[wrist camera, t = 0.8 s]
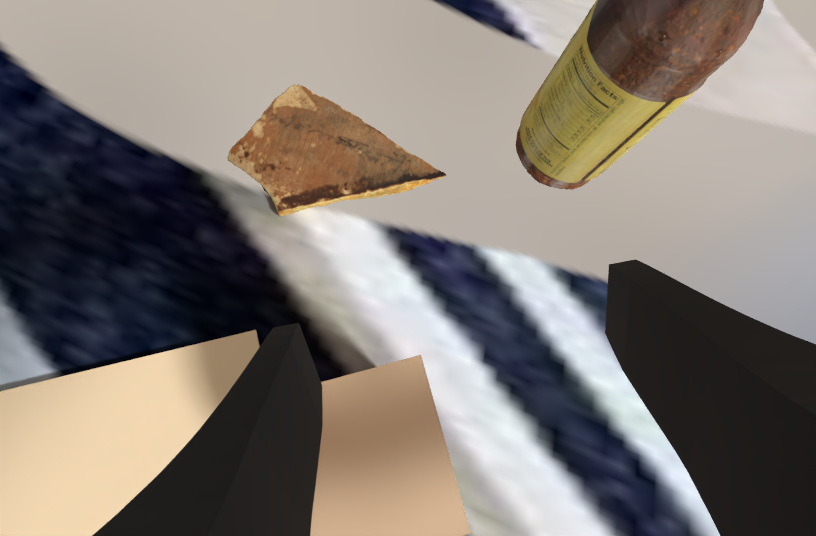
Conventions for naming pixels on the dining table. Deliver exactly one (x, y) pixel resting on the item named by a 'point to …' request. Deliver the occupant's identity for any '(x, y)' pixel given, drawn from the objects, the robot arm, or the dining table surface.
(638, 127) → the sauce bottle
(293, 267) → the dining table surface
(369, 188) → the shard
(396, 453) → the small brown box
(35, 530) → the cork mat
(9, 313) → the dining table surface
